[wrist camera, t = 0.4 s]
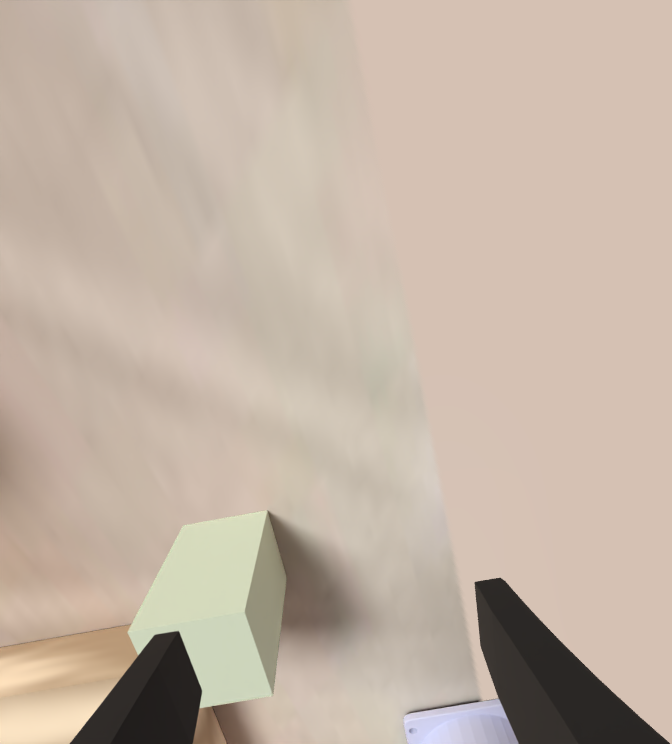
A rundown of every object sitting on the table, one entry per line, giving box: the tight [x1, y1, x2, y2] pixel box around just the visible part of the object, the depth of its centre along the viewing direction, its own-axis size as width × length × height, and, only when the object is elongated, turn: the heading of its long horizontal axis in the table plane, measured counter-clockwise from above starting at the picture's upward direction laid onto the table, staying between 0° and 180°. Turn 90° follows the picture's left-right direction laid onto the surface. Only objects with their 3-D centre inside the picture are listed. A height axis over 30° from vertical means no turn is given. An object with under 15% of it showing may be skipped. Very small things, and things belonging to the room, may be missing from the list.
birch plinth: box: [0, 625, 227, 744], centre depth 22 cm, size 12×12×3 cm
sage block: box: [128, 510, 287, 708], centre depth 18 cm, size 4×4×6 cm
